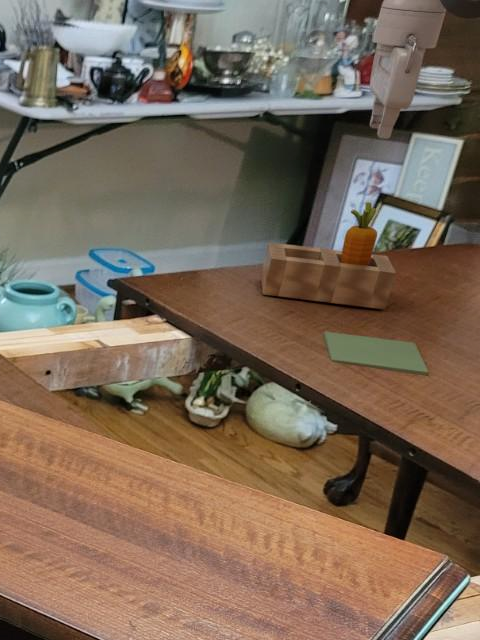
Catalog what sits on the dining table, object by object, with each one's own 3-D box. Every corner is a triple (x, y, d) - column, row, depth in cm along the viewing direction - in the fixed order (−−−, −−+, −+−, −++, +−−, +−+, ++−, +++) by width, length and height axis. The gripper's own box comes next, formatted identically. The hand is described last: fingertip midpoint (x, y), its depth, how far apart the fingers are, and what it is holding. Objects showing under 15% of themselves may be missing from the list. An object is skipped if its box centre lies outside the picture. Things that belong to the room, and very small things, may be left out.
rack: (376, 291, 189) (387, 255, 186) (384, 309, 180) (396, 272, 177) (260, 277, 193) (268, 242, 189) (262, 294, 184) (271, 258, 180)
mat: (413, 348, 164) (415, 342, 164) (427, 377, 153) (429, 372, 153) (322, 336, 166) (324, 331, 166) (330, 364, 156) (331, 359, 155)
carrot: (350, 302, 183) (373, 209, 175) (325, 294, 186) (346, 202, 178) (368, 297, 185) (391, 205, 177) (342, 289, 188) (364, 199, 180)
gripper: (441, 40, 152) (410, 146, 160) (419, 28, 169) (391, 124, 176) (393, 36, 153) (365, 141, 161) (376, 25, 170) (350, 121, 178)
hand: (378, 132), depth 169 cm, fingers open, 8 cm apart
